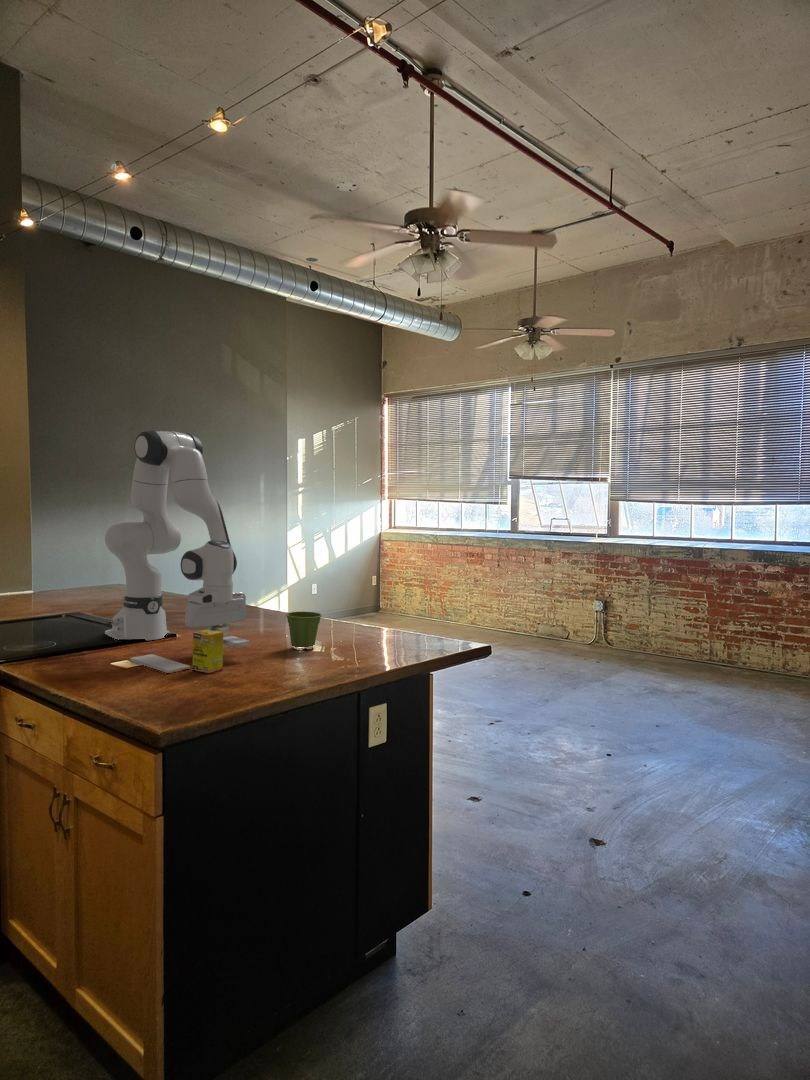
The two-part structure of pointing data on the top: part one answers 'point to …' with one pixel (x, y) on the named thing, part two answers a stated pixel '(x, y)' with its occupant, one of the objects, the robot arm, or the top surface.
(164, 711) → the top surface
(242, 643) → the grey elongated block
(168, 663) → the rest mat
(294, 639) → the plant pot
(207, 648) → the supplement box
